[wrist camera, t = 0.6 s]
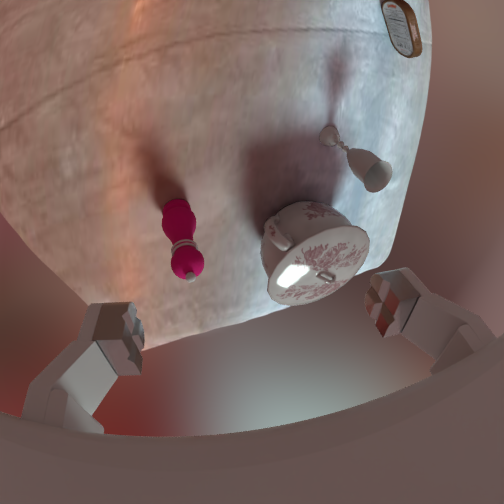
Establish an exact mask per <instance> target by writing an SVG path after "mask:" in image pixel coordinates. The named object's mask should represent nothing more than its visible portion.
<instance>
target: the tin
mask: <svg viewBox="0 0 504 504" xmlns="http://www.w3.org/2000/svg"><path fill="white" fill-rule="evenodd" d="M382 12H383V15H384V19H385V22H386V25H387V29H388V33H389V36H390V40H391V42H392V44H393V46H394V48H395V49H396V50H397V52H398V53H399V54H401V55H403V56H404V57H407V58H413V57H418V56H420V55H421V53H422V42H421V37H420V33H419V28H418V24H417V19H416V16H415V13H414V11H413V9H412V8H411V7H410V5H409V4H408V3H407V2H405V1H404V0H385V1H384V2H383V4H382Z"/></svg>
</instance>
